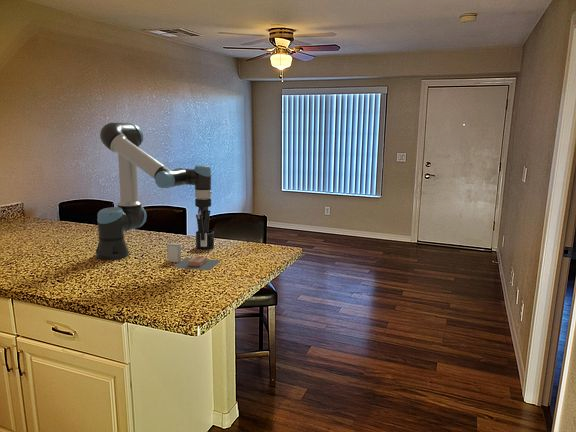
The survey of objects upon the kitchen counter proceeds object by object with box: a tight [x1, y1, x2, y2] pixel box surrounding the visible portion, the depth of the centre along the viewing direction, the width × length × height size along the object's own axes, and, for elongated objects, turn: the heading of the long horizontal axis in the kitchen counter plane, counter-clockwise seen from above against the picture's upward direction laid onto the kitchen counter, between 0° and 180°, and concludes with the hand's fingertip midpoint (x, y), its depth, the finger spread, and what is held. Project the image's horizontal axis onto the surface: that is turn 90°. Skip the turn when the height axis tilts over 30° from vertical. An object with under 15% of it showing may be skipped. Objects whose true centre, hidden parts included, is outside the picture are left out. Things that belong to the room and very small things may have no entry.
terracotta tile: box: [188, 255, 208, 266], centre depth 211 cm, size 6×2×9 cm
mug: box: [195, 229, 215, 251], centre depth 238 cm, size 9×12×9 cm
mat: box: [172, 257, 222, 271], centre depth 211 cm, size 18×16×1 cm
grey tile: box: [166, 242, 182, 263], centre depth 213 cm, size 6×2×9 cm, turn 80°
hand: (203, 246), depth 218 cm, fingers closed
